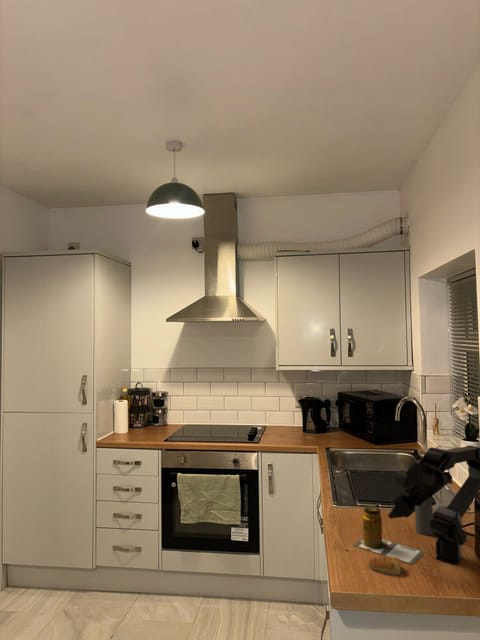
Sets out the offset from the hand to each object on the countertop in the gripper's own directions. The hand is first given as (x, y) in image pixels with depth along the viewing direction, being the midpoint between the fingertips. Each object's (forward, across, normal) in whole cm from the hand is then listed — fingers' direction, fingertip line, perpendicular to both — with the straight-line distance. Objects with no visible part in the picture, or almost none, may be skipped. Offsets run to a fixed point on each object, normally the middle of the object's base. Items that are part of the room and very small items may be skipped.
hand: (394, 512), depth 151 cm
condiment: (+14, 0, +4) cm, 14 cm away
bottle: (+8, -21, +11) cm, 25 cm away
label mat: (+11, 0, +7) cm, 13 cm away
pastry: (+8, +13, +11) cm, 18 cm away
